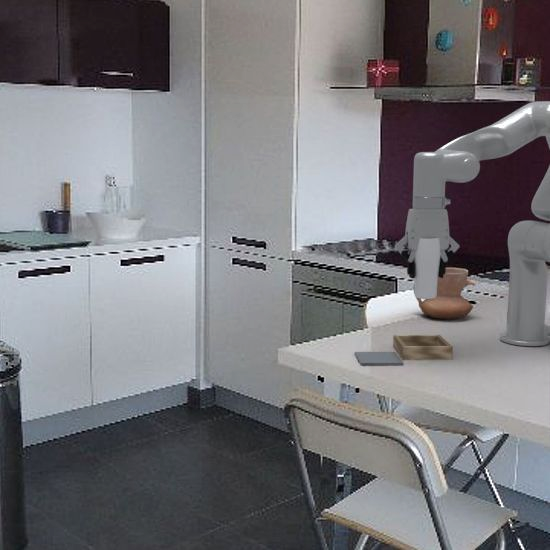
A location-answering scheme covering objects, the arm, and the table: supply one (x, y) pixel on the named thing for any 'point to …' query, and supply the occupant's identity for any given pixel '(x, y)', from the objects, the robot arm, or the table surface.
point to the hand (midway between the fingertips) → (426, 276)
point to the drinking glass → (427, 268)
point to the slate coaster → (378, 358)
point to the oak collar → (422, 347)
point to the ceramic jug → (448, 296)
